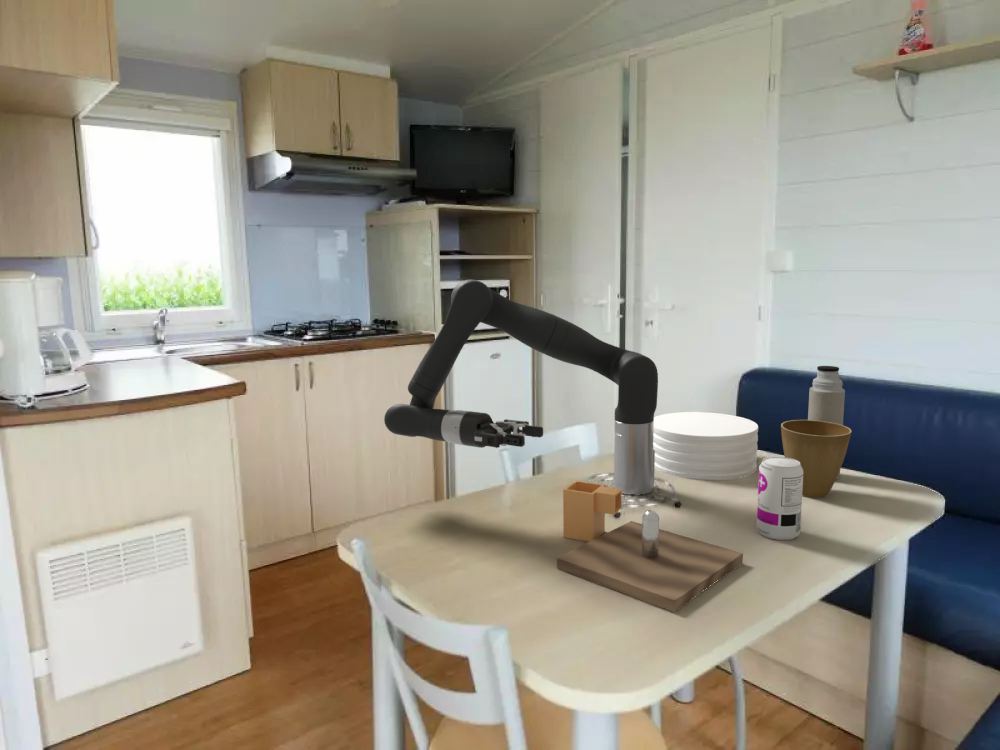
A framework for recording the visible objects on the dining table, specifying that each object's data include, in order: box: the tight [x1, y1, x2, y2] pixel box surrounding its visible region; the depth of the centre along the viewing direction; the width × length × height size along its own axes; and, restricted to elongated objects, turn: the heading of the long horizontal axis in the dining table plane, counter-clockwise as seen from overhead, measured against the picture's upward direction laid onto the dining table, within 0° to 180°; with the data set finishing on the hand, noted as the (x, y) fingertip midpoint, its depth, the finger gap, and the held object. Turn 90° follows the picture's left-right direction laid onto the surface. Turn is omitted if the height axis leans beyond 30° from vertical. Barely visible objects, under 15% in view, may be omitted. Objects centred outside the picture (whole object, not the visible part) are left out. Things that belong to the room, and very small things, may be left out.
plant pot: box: [780, 419, 852, 499], centre depth 162 cm, size 15×15×16 cm
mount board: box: [556, 520, 744, 613], centre depth 127 cm, size 24×24×2 cm
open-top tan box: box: [562, 480, 623, 543], centre depth 140 cm, size 10×6×10 cm, turn 61°
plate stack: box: [653, 411, 759, 481], centre depth 188 cm, size 28×28×12 cm
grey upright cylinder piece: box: [641, 509, 660, 559], centre depth 126 cm, size 3×3×8 cm
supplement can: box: [756, 456, 803, 541], centre depth 139 cm, size 8×8×15 cm
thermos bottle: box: [807, 365, 846, 480], centre depth 174 cm, size 8×8×28 cm
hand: (533, 436), depth 144 cm, fingers open, 8 cm apart
